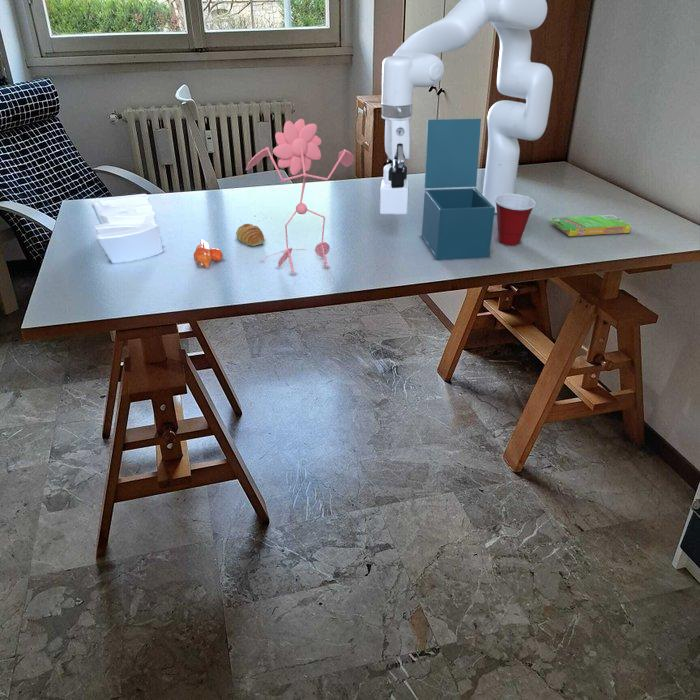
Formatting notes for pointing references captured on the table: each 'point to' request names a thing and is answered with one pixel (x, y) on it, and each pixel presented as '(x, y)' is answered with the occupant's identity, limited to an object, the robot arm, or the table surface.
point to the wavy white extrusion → (127, 227)
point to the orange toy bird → (206, 254)
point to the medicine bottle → (393, 194)
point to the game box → (591, 225)
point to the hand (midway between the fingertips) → (394, 182)
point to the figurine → (297, 154)
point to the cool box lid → (452, 153)
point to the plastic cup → (512, 217)
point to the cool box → (457, 223)
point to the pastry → (250, 235)
